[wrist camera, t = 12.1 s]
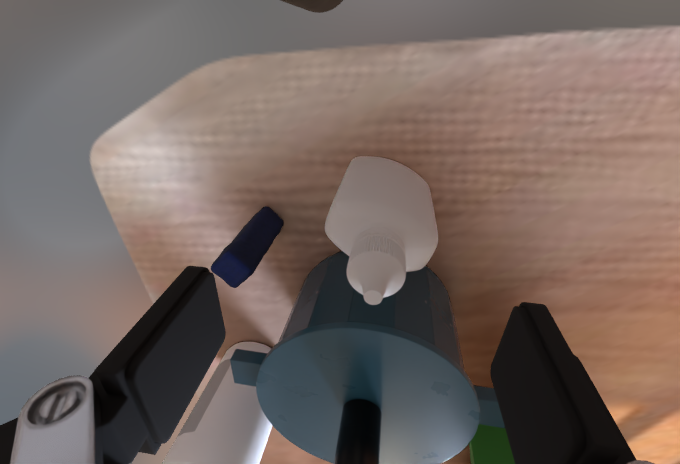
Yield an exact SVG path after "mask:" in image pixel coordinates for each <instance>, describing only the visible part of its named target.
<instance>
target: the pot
mask: <svg viewBox="0 0 680 464" xmlns="http://www.w3.org/2000/svg"><path fill="white" fill-rule="evenodd" d="M349 257H350V256H348V255H347V254H345V253H344V252H343V251H342V252H339V253H336V254H334V255H332V256H330V257H328V258H326V259H325V260H323V261H322V262H320V263H319V264H318V265H317V266H316V267H314V269H313V270H312V271H311V272H310V273H309V274H308V276H307V278H306V280H305V282H304V284H303V286H302V288H301V290H300V292H299V294H298V296H297V299H296V301H295V304H294V306H293V308H292V311H291V313H290V316H289V318H288V320H287V323H286V325H285V328H284V330H283V332H282V335H281V337H280V339H279V342H280V341H281V340H283V339H284V338H285V337H287V336H289V335H291V334H293V333H295V332H297V331H300V330H302V329H305V328H308V327H312V326H316V325H321V324H327V323H336V322H359V323H371V324H376V325H382V326H387V327H391V328H394V329H398V330H401V331H404V332H407V333H409V334H412V335H414V336H417V337H419V338H421V339H423V340H425V341H427V342H429V343H431V344H433V345H435V346H436V347H437V348H439V349H440V350H442V351H443V352H445V353H446V354H448V355H449V356H450V357H451V358H452V359H453V360H454V361H455V362H457V363H458V364H459V366H460V367H461V368H462V369H463V370H464V365H463V360H462V355H461V350H460V344H459V339H458V334H457V329H456V323H455V318H454V313H453V310H452V306H451V303H450V298H449V295H448V292H447V290H446V288H445V287H444V285H443V283H442V282H441V280H440V279H439V278H438V277H437V275H436V274H435V273H434V272H432V271H431V270H430V269H429V268H428V267H427V266H424V267H423V268H422V269H420V270H417V271H411V272H406V278H405V282H404V285H402V287H401V289H399V291H397V292H396V293H394V294H393V295H391V296H388V297H384V298H383V299H382V301H381V303H379V304H377V305H370V304H368V303H367V302H365V300H364V296H363V295H362V294H360V293H359V292H358V291H356V290H355V289H354V288H353V287H352V285H350V283H349V281H348V278H347V275H346V274H347V273H346V271H347V270H346V269H347V265H348V261H349ZM279 342H278V343H279ZM267 354H268V353H261V352H255V351H248V350H242V349H236V350H235V351H234V353H233V355H232V357H231V359H230V363H231V368H232V374H233V379H234V383H237V384H243V385H249V386H255V387H256V380H257V374H258V372H259V369H260V366H261V364H262V362H263V360H264V358H265V357H266V355H267ZM473 386H474V388H475V391H476V393H477V397H478V402H479V408H480V421H479V424H481V425H487V426H493V427H499V428H505V426H504V422H503V419H502V415H501V411H500V408H499V404H498V401H497V397H496V394H495V390H494V388H489V387H482V386H476V385H473Z"/></svg>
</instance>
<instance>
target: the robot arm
mask: <svg viewBox="0 0 680 464" xmlns="http://www.w3.org/2000/svg"><path fill="white" fill-rule="evenodd" d="M224 339H225V327H224V322H223V317H222V312H221V307H220V303H219V298H218V293H217V288H216V283H215V278H214V275H213V273H210V272H209V270H208V268H205V267H196V266H188V267H187V268H185V269H184V271H183V272H182V273H181V274H180V275H179V276H178V277H177V278H176V280H175V281H174V282H173V283H172V284H171V285H170V286H169V287H168V289H167V290H166V291H165V292H164V293H163V294H162V295H161V296H160V298H159V299H158V300H157V301H156V302H155V303H154V304H153V305H152V306H151V308H150V309H149V310H148V311H147V312H146V313H145V314H144V315H143V317H142V318H141V319H140V320H139V321H138V322H137V323H136V324H135V326H134V327H133V328H132V329H131V330H130V331H129V332H128V333H127V335H126V336H125V337H124V338H123V339H122V340H121V341H120V343H118V345H117V346H116V347H115V348H114V349H113V350H112V351H111V352H110V354H109V355H108V356H107V357H106V358H105V359H104V360H103V362H102V363H101V364H100V365H99V366H98V367H97V368H96V369H95V371H94V372H93V373H92V375H91V376H90V377H89V378H87V377H84V376H80V375H79V376H78V375H77V376H68V377H64V378H61V379H58V380H56V381H54V382H52V383H49V384H48V385H46V386H45V387H43V388H41V389H40V390H39V391H37V392H36V393H35V394H34V395H33V396H32V397H31V398H30V399H28V401H27V402H26V404H25V405H24V406H23V407H22V410H21V412H20V415H19V417H18V418H16V419H14V420H12V421H9V422H7V423H5V424H3V425H0V464H132V461H133V460H134V458H135V456H136V455H137V453H138V452H142V453H148V454H154V455H155V454H156V453H157V451H158V449H159V447H160V446H161V444H162V443H166V442H167V441H168V440H169V439H170V437H171V435H172V433H173V432H174V430H175V428H176V426H177V425H178V423H179V421H180V419H181V417H182V416H183V413H184V412H185V410H186V408H187V406H188V405H189V403H190V401H191V399H192V398H193V396H194V394H195V392H196V390H197V389H198V387H199V385H200V383H201V381H202V380H203V378H204V376H205V374H206V372H207V371H208V369H209V367H210V365H211V363H212V362H213V360H214V358H215V356H216V354H217V353H218V351H219V349H220V347H221V345H222V344H223V342H224ZM490 373H491V379H492V383H493V386H494V390H495V394H496V397H497V401H498V404H499V408H500V411H501V415H502V419H503V422H504V426H505V429H506V433H507V436H508V440H509V444H510V447H511V451H512V454H513V458H514V461H515V464H654V463H651V462H648V461H640V460H636V458H635V456H634V455H633V453H632V451H631V449H630V448H629V446H628V444H627V442H626V441H625V439H624V437H623V435H622V434H621V432H620V430H619V428H618V426H617V425H616V423H615V421H614V419H613V418H612V416H611V414H610V412H609V411H608V409H607V407H606V405H605V404H604V402H603V400H602V398H601V397H600V395H599V393H598V391H597V389H596V388H595V386H594V384H593V382H592V381H591V379H590V377H589V375H588V374H587V372H586V370H585V368H584V367H583V365H582V363H581V362H580V360H579V359H578V357H576V356H575V355H573V353H572V352H571V350H570V348H569V346H568V344H567V343H566V341H565V339H564V337H563V335H562V334H561V332H560V330H559V328H558V326H557V325H556V323H555V321H554V319H553V317H552V316H551V314H550V312H549V310H548V308H547V307H546V306H545V305H543V304H535V303H526V302H522V303H521V304H520V306H519V307H517V306H515V307H514V308H513V310H512V312H511V315H510V318H509V320H508V323H507V325H506V328H505V331H504V333H503V336H502V339H501V341H500V344H499V346H498V349H497V352H496V354H495V357H494V359H493V362H492V365H491V372H490Z"/></svg>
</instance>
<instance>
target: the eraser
mask: <svg viewBox="0 0 680 464" xmlns="http://www.w3.org/2000/svg"><path fill="white" fill-rule="evenodd" d="M282 226H283V220H282V219H281V218H280V217H279V216H278V215H277V214H276V213H275V212H274V211H273V210H271V208H269V207H267V206H265V207H263V208H262V209H261V210H260V211H259V212H258V213H256V214H255V215H254V216H253V218H252V219H251V220H250V221H249V222H248V223H247V224H246V225H245V226H244V227H243V229H242V230H241V231H240V232H239V234H238V235H237V236H236V237H235V239H234V240H233V241H232V243H230V244H229V245H228V246H227V247H226V248H225V249H224V250H223V251H222V253H221V254H220V255H219V257H218V258H217V259H216V260H215V261H214V263H213V264H212V266H211V270H212V272H213V273H215V274H216V275H218V276H219V277H220V278H222V279H223V280H224V281H225V282H226V283H227V284H228V285H230V286H231V287H233V288H236V287H238V286H239V285H240V284H241V283H242V282H244V281H245V280H246V279H247V278H248V277H250V276H251V275H252V274H253V273H254V271H255V269H256V267H257V266H258V264H259V263H260V261H261V260H262V258H263V256H264V255H265V254H266V253H267V251H268V249H269V247H270V246H271V244H272V243H273V241H274V239H275V238H276V236H277V235H278V234H279V233H280V231H281V228H282Z"/></svg>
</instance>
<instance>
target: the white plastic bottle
mask: <svg viewBox="0 0 680 464" xmlns="http://www.w3.org/2000/svg"><path fill="white" fill-rule="evenodd" d="M236 349H242V350H248V351H255V352H261V353H268V352H269V351H270V350H271V349H272V348H270V347H268V346H266V345H264V344H260V343H256V342H240V343H237V344H235V345H233V346H232V347H230V348H229V349H228V350H227V351H226V353H225V355H224V356H223V358H222V360H221V362H220V363H219V365H218V367H217V369H216V370H215V372H214V374H213V375H212V377H211V379H210V381H209V382H208V384H207V386H206V388H205V389H204V391H203V393H202V395H201V396H200V398H199V400H198V402H197V403H196V405H195V407H194V409H193V410H192V412H191V414H190V415H189V417H188V419H187V421H186V423H185V424H184V426H183V428H182V429H181V431H180V433H179V435H178V436H177V438H176V440H175V442H174V443H173V445H172V447H171V448H170V450H169V452H168V454H167V455H166V457H165V459H164V461H163V462H162V464H259V463H260V460H261V457H262V454H263V451H264V448H265V446H266V443H267V440H268V437H269V434H270V431H271V428H272V424H271V423H270V421H269V420H268V419H267V417H266V416H265V414H264V412H263V411H262V409H261V406H260V404H259V401H258V397H257V393H256V387H255V386H249V385H243V384H237V383H234V379H233V374H232V368H231V363H230V359H231V357H232V355H233V353H234V351H235V350H236Z"/></svg>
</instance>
